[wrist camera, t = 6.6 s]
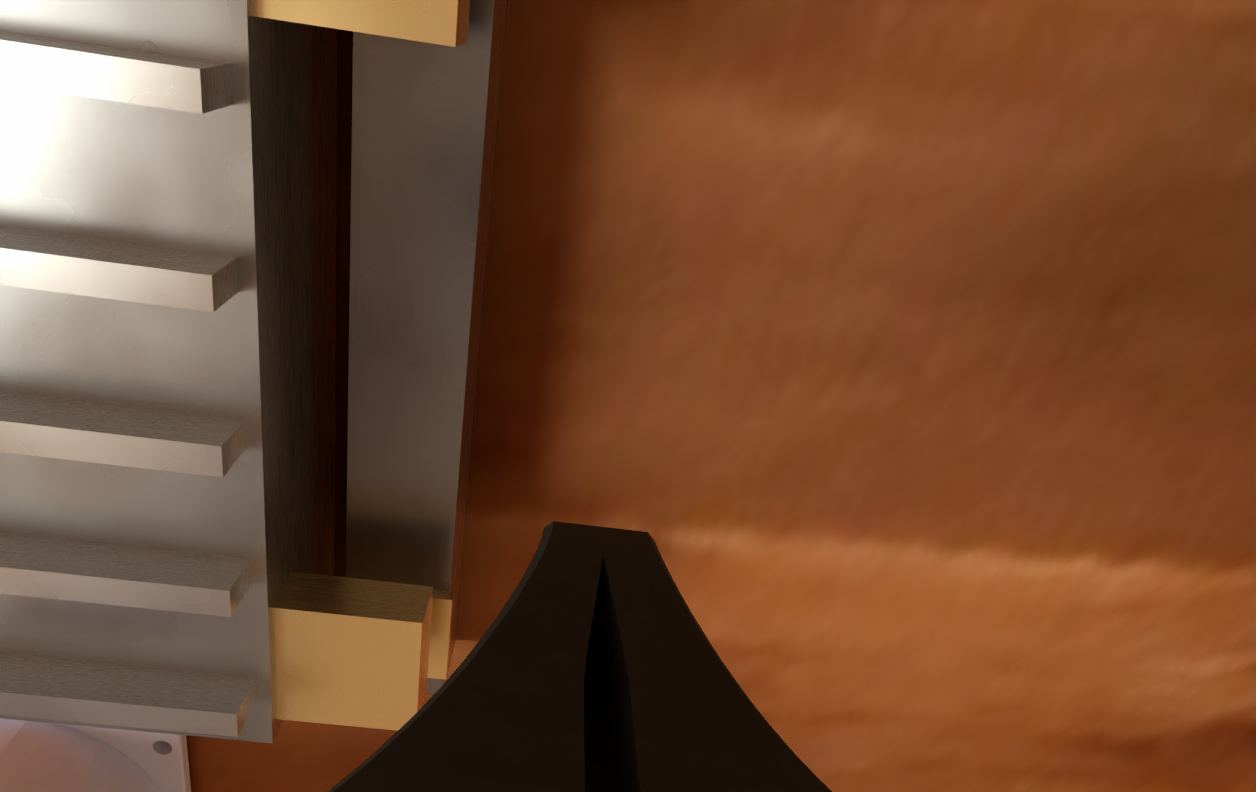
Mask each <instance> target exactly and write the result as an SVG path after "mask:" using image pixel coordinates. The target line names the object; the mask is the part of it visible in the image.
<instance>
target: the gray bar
mask: <svg viewBox="0 0 1256 792" xmlns="http://www.w3.org/2000/svg"><path fill="white" fill-rule="evenodd" d="M507 1H508V0H470V9H469V25H468V41H467V43H465V44H462V45H460V46H457V47H452V46H446V45H439V44H433V43H426V42H419V41H413V40H406V39H400V38H393V37H387V36H380V35H374V34H367V33H360V32H354V31H353V78H352V152H351V226H350V300H349V374H348V448H347V522H346V577H348V578H357V579H367V580H376V581H385V582H395V583H404V584H413V585H423V586H432V587H433V598H432V614H431V630H430V646H429V662H428V678H427V693H426V694H435V693H436V692H437V691H438V690H439V689H440V688H441V687H442V685H443V684H444V683H445V681H446V677H447V673H448V669H449V665H450V661H451V657H452V653H453V649H454V644H455V640H456V629H457V616H458V604H459V592H460V580H461V567H462V555H463V543H464V530H465V518H466V506H467V493H468V481H469V469H470V457H471V444H472V432H473V420H474V407H475V395H476V383H477V370H478V358H479V346H480V334H481V321H482V309H483V297H484V284H485V272H486V260H487V247H488V235H489V223H490V211H491V198H492V186H493V174H494V161H495V149H496V137H497V124H498V112H499V100H500V88H501V75H502V63H503V51H504V38H505V26H506V14H507Z"/></svg>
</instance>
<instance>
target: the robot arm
mask: <svg viewBox="0 0 1256 792" xmlns="http://www.w3.org/2000/svg"><path fill="white" fill-rule="evenodd" d="M164 741H165V742H164ZM166 742H167V743H166ZM0 792H191V784H190V773H189V762H188V750H187V739H186V735H176V734H165V733H154V732H144V731H133V730H122V729H111V728H100V727H89V726H78V725H68V724H57V723H46V722H35V721H24V720H13V719H3V718H0ZM327 792H832V791H831V790H830V789H829V788H828V787H827V786H826V785H825V784H824V783H822V782H821V781H820V780H819V779H818V778H817V777H816V776H815V775H814V774H813V773H812V772H811V771H810V770H809V768H808V767H807V766H806V765H805V764H804V763H803V762H802V761H801V760H800V759H799V758H798V757H797V756H796V755H795V754H794V753H793V751H792V750H791V749H790V748H789V747H788V746H787V745H786V743H785V742H784V741H783V740H782V739H781V738H780V736H779V735H778V734H777V733H776V732H775V731H774V729H773V728H772V727H771V726H770V725H769V724H768V722H767V721H766V720H765V719H764V717H763V716H762V715H761V714H760V712H759V711H758V710H757V709H756V707H755V706H754V705H753V703H752V702H751V701H750V699H749V698H748V697H747V695H746V694H745V693H744V691H743V690H742V689H741V687H740V686H739V684H738V683H737V682H736V680H735V679H734V677H733V676H732V675H731V673H730V672H729V670H728V669H727V668H726V666H725V665H724V663H723V662H722V660H721V659H720V657H719V656H718V654H717V653H716V651H715V650H714V648H713V647H712V645H711V644H710V642H709V640H708V639H707V637H706V636H705V634H704V632H703V631H702V629H701V627H700V626H699V624H698V623H697V621H696V619H695V618H694V616H693V614H692V613H691V611H690V609H689V608H688V606H687V604H686V602H685V601H684V599H683V597H682V595H681V594H680V592H679V590H678V588H677V586H676V584H675V582H674V581H673V579H672V577H671V575H670V573H669V571H668V569H667V567H666V565H665V563H664V561H663V559H662V557H661V555H660V553H659V550H658V548H657V546H656V544H655V541H654V540H653V539H652V537H651V536H650V535H649V533H648V532H641V531H632V530H624V529H615V528H606V527H598V526H589V525H580V524H572V523H563V522H555V521H554V522H553V523H551V524H550V525H548V526H546V527H545V528H544V531H543V536H542V539H541V541H540V544H539V547H538V549H537V551H536V553H535V555H534V557H533V559H532V561H531V563H530V565H529V567H528V569H527V571H526V572H525V574H524V576H523V578H522V580H521V581H520V583H519V584H518V586H517V587H516V589H515V591H514V592H513V594H512V595H511V597H510V598H509V600H508V602H507V603H506V605H505V606H504V608H503V609H502V611H501V612H500V614H499V615H498V617H497V618H496V620H495V621H494V622H493V624H492V625H491V626H490V628H489V629H488V630H487V631H486V633H485V634H484V635H483V637H482V638H481V639H480V641H479V642H478V643H477V644H476V646H475V647H474V648H473V650H472V651H471V652H470V654H469V655H468V656H467V658H466V659H465V660H464V661H463V662H462V664H461V665H460V666H459V667H458V668H457V669H456V671H455V672H454V673H453V674H452V675H451V676H450V678H449V679H448V680H447V681H446V682H445V683H444V684H443V685H442V687H441V688H440V689H439V690H438V691H437V692H436V693H435V694H434V695H433V696H432V697H431V698H430V699H429V700H428V702H427V703H426V704H425V705H424V706H423V707H422V708H421V709H420V710H419V711H418V712H417V713H416V714H415V715H414V716H413V717H412V718H411V719H410V720H409V721H408V722H407V723H406V724H404V725H403V726H402V727H401V728H400V729H399V730H398V731H397V732H396V733H395V734H394V735H393V736H392V737H391V738H390V739H389V740H388V741H387V742H386V743H385V744H383V745H382V746H381V747H380V748H379V749H378V750H377V751H376V752H375V753H374V754H372V755H371V756H370V757H369V758H368V759H367V760H366V761H364V762H363V763H362V764H361V765H360V766H359V767H357V768H356V769H355V770H354V771H353V772H351V773H350V774H349V775H348V776H346V777H345V778H344V779H343V780H341V781H340V782H339V783H337V784H336V785H335V786H334V787H332V788H331V789H330V790H329V791H327Z"/></svg>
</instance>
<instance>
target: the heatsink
mask: <svg viewBox="0 0 1256 792" xmlns="http://www.w3.org/2000/svg"><path fill="white" fill-rule="evenodd" d="M469 9H470V0H0V718H3V719H13V720H24V721H35V722H46V723H57V724H68V725H78V726H89V727H100V728H111V729H122V730H133V731H144V732H154V733H165V734H176V735H187V736H198V737H209V738H219V739H230V740H241V741H252V742H263V743H273V741H274V739H275V737H276V735H277V732H278V730H279V728H280V726H281V724H282V721H283V720H291V721H301V722H312V723H323V724H333V725H344V726H354V727H365V728H376V729H386V730H397V731H398V730H399V729H400V728H401V727H402V726H403V725H404V724H406V723H407V722H408V721H409V720H410V719H411V718H412V717H413V716H414V715H415V714H416V713H417V712H418V711H419V710H420V709H421V708H422V707H423V704H424V700H425V696H426V693H427V678H428V662H429V646H430V630H431V614H432V598H433V587H432V586H423V585H413V584H404V583H395V582H385V581H376V580H367V579H357V578H348V577H338V576H335V382H336V178H337V29H341V30H347V31H354V32H360V33H367V34H374V35H380V36H387V37H393V38H400V39H406V40H413V41H419V42H426V43H433V44H439V45H446V46H452V47H457V46H460V45H462V44H465V43H467V41H468V25H469Z"/></svg>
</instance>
